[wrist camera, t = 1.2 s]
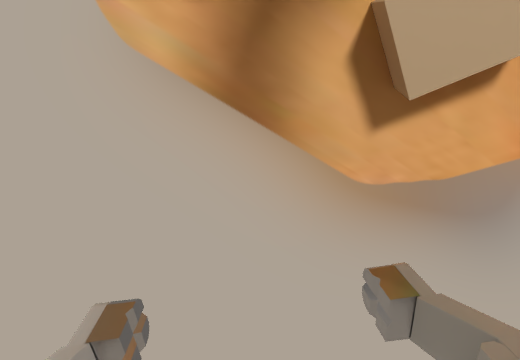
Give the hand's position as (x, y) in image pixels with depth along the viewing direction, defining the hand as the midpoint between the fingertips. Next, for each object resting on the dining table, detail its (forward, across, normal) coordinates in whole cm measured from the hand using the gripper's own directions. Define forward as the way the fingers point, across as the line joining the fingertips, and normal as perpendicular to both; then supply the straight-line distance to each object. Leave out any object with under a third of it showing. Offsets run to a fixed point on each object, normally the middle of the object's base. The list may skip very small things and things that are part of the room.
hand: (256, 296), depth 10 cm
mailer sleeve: (+36, -33, -13) cm, 51 cm away
